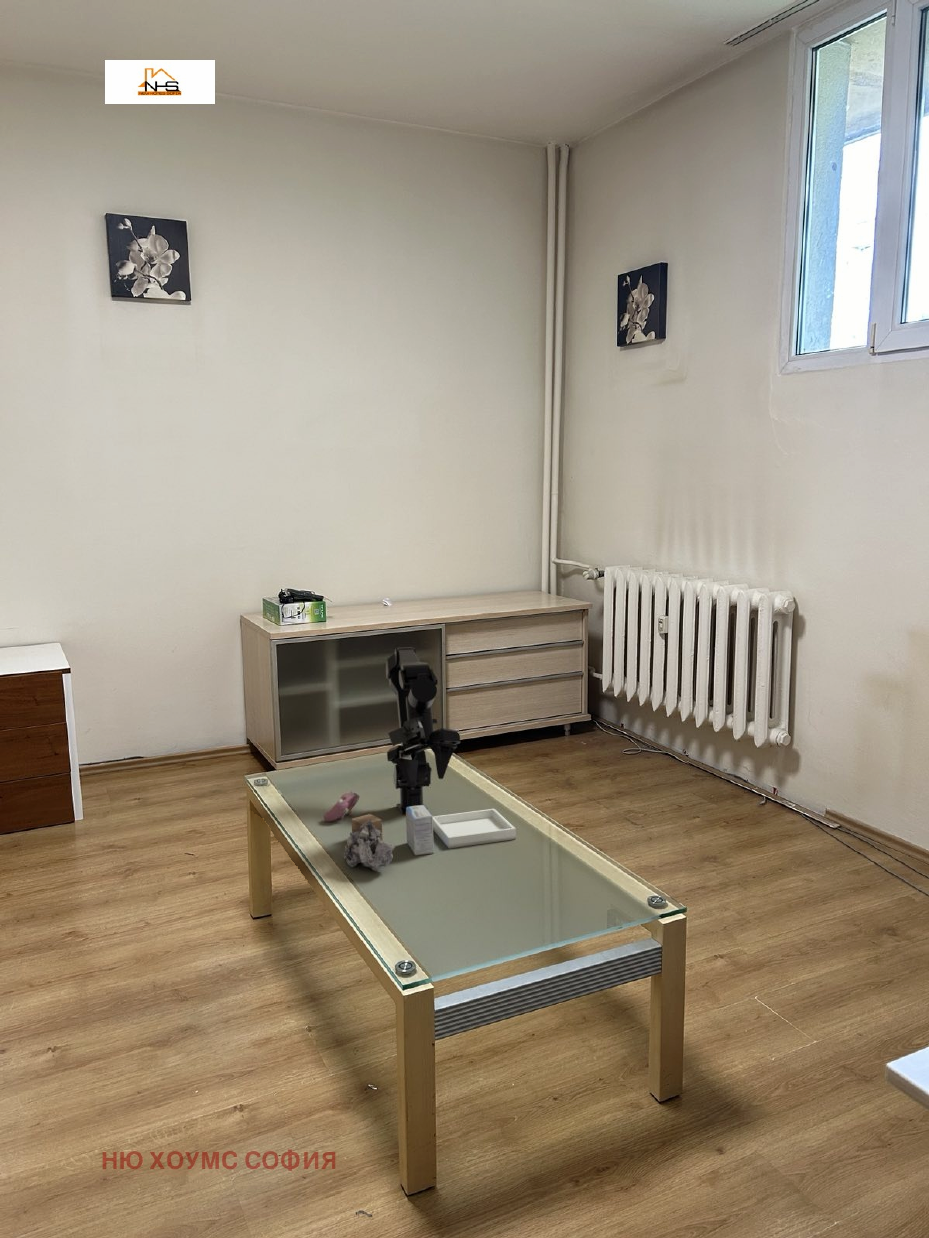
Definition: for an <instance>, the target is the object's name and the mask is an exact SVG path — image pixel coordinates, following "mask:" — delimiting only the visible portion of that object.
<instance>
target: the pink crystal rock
mask: <svg viewBox="0 0 929 1238" xmlns="http://www.w3.org/2000/svg"><path fill="white" fill-rule="evenodd" d="M359 800H360V795H359V794H357V793H355V792H352V791H350V792H346V793H344V794H342V795H341V797H340V798H339V800H337V802H336V803H335V804H334V806H332V808H329V810H327V811H326V813H324V816H323V819H324V820H325V822H328V821H329V822H333V821H335V820H337V819H340V820H343V819H344V818H345V816H346V815H349V814H351V813H352V811H353V808H354V807H356V805H357V803H358V802H359ZM342 818H343V819H342Z"/></svg>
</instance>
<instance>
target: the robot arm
mask: <svg viewBox="0 0 929 1238" xmlns="http://www.w3.org/2000/svg"><path fill="white" fill-rule="evenodd" d="M416 652H417V651H416V648H415V647H413V646H411V647H397V648H395V649H394V653H393V654H392V655H390V656H389V657H388V658H387V659H386V664H385V677H386V680H388V682H389V683H388V684H389V688H390V690H392V692H393V693H394V695H395V696H396V702H397V703H396V704H397V715H398V726H399V728H397V729H394V730H392V731H389V732H388V733H387V734H388V738H389V740H390V744H391V745H392V748H389V749H388V751H387V752H386V757H387V762H391V763H392V764H394V769H393V786H394V787H395V790H398V789H399V795H400V796H399V798H400V799H399V800H400V801H399V802H400V803H396V807H397V809H398V810H399V811H400V813H401V814H402V815H403V814H405V815H406V808H407V807H411V806H419V805H424V806H425V807H426V809H427V810H428V807H427V806H426V805H425V804H424V787H430V785H431V784H432V783H431V780H432V779H431V777H432V771H433V769H432V767H431V765H430V763H429V762H428V761H427V754H426V752H425V751H426V750H428V749H431V751H432V752H433V754H434V759H435V765H436V773H437V777H438V779H439V780H443V779H444V777H445V774H446V771H447V769H448V766H449V763H450V760H451V758H452V756H453V754H454V752H455V749H457V748H458V744H461V734H460V733H459V732H458V731H457V730H456V729H450V728H444V727H441V728H439V729H436V730H435V728H434V727H435V725H436V724H437V725H438V720H437V718H434V717H433V716H434V715H433V709H432V705H433V703H434V701H435V698H436V696H437V693H438V688H437V685H438V684H439V683H438V678H437V675H436V673H435V672H434V670H433V668H431V666H430V664H429V663H428V662H424V661H420V658H419V656H418V655H417V653H416ZM398 744H399V745H398Z"/></svg>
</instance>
